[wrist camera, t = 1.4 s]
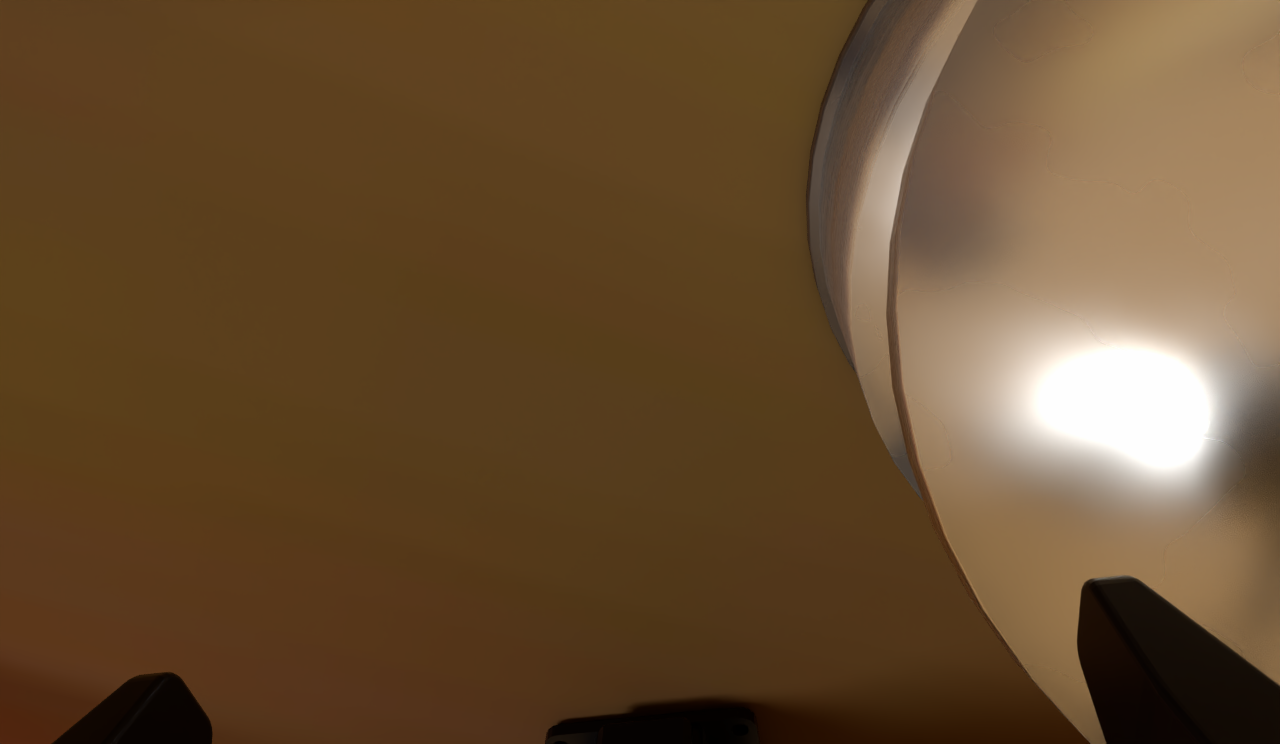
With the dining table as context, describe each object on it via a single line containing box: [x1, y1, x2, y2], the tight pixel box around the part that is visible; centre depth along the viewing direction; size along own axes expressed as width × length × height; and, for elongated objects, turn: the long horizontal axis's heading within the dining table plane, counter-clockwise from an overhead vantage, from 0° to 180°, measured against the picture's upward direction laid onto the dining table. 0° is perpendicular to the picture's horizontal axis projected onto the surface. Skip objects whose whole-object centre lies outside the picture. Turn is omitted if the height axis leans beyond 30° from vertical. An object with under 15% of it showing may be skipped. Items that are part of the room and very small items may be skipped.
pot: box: [806, 0, 978, 500], centre depth 17 cm, size 15×15×5 cm
